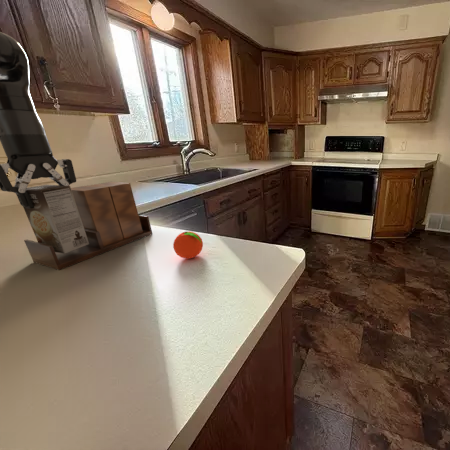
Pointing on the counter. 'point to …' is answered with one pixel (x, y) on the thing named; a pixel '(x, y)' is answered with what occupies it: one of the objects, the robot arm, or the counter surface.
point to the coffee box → (56, 218)
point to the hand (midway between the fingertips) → (49, 204)
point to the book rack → (98, 224)
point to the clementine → (188, 245)
